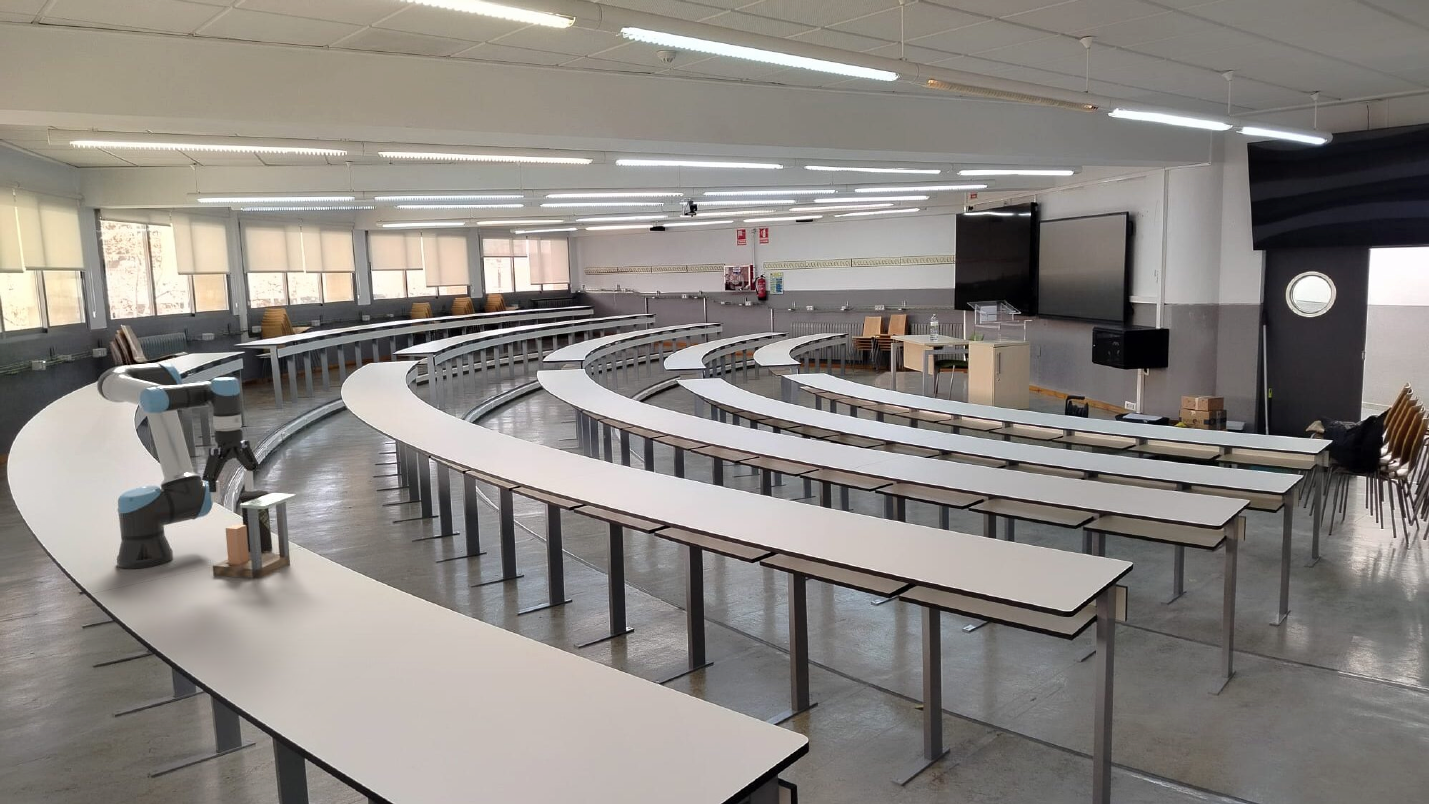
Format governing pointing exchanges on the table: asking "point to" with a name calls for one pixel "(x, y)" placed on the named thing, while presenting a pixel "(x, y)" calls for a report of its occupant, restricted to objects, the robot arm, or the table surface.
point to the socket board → (245, 570)
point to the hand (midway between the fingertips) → (233, 496)
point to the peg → (237, 544)
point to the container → (263, 520)
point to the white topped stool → (253, 524)
